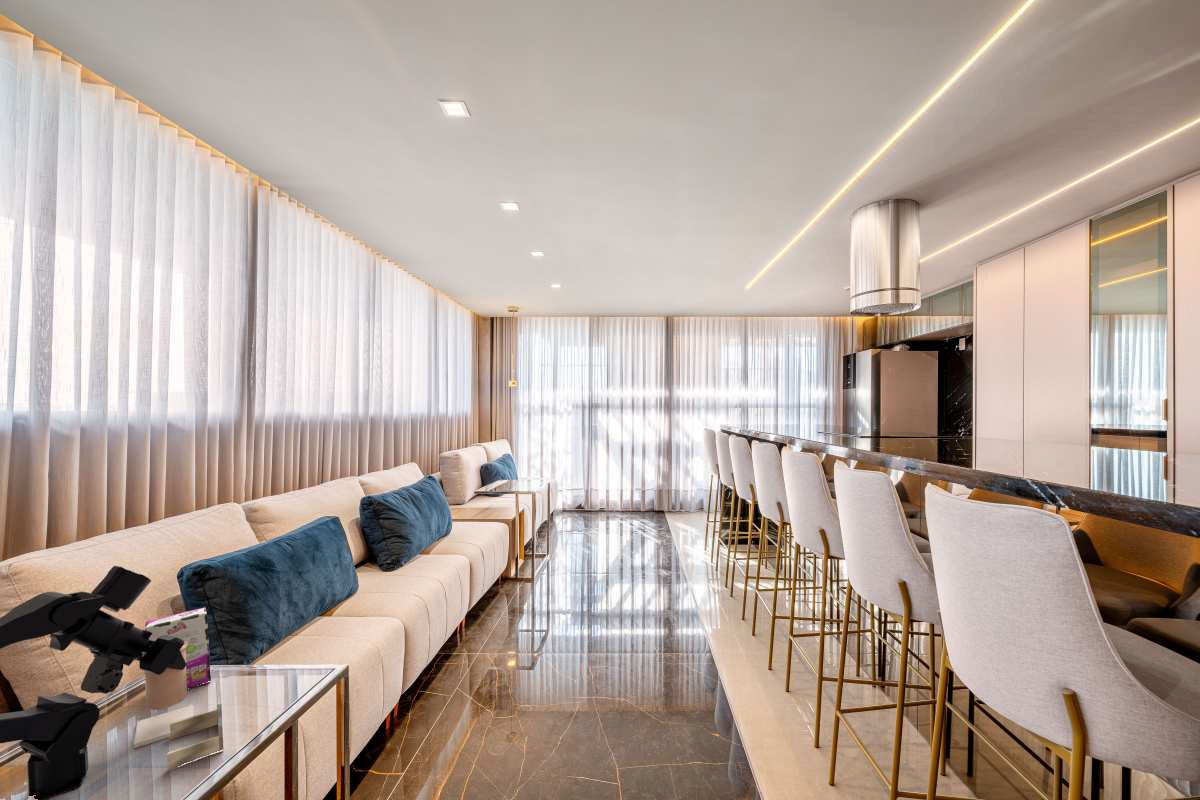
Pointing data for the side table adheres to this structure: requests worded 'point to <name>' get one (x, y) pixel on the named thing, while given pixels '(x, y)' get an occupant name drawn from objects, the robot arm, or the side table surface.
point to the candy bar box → (194, 633)
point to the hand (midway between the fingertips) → (173, 664)
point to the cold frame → (194, 725)
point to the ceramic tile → (159, 726)
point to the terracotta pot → (166, 686)
